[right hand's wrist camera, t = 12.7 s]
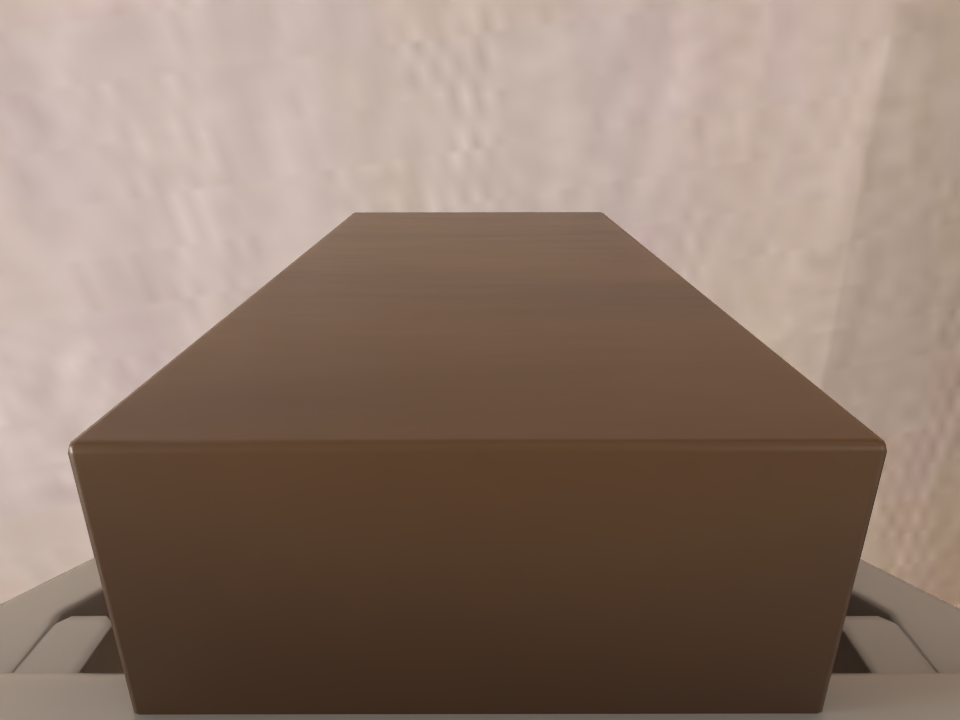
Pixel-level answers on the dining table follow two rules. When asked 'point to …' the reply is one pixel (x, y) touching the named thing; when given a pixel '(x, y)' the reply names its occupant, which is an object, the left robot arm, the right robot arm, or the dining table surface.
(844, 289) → the dining table surface
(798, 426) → the bar
